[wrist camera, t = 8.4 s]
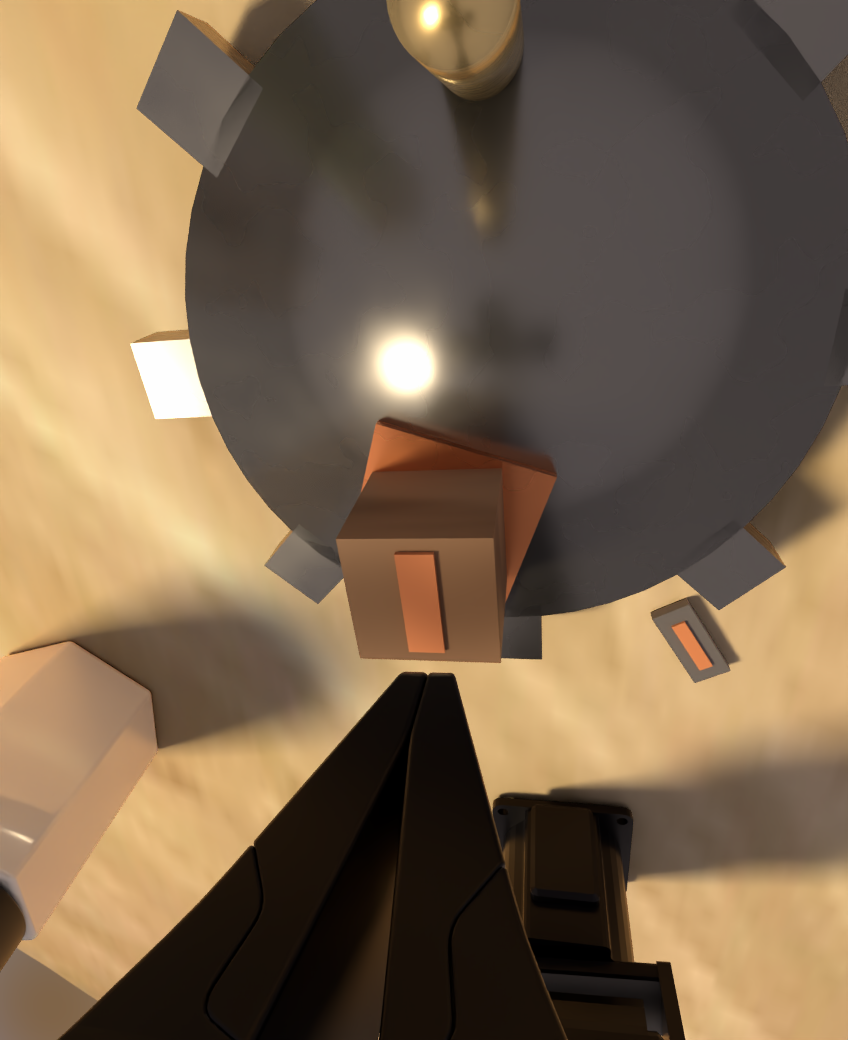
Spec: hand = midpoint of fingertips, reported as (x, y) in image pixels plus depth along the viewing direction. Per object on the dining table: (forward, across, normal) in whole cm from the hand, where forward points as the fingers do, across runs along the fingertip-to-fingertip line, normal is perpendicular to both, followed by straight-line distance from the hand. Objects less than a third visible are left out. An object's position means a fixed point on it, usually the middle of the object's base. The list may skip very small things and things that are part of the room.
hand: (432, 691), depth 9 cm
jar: (+12, +22, +14) cm, 29 cm away
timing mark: (+12, -7, +10) cm, 17 cm away
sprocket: (+12, 0, -2) cm, 13 cm away
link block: (+10, +2, +3) cm, 10 cm away
